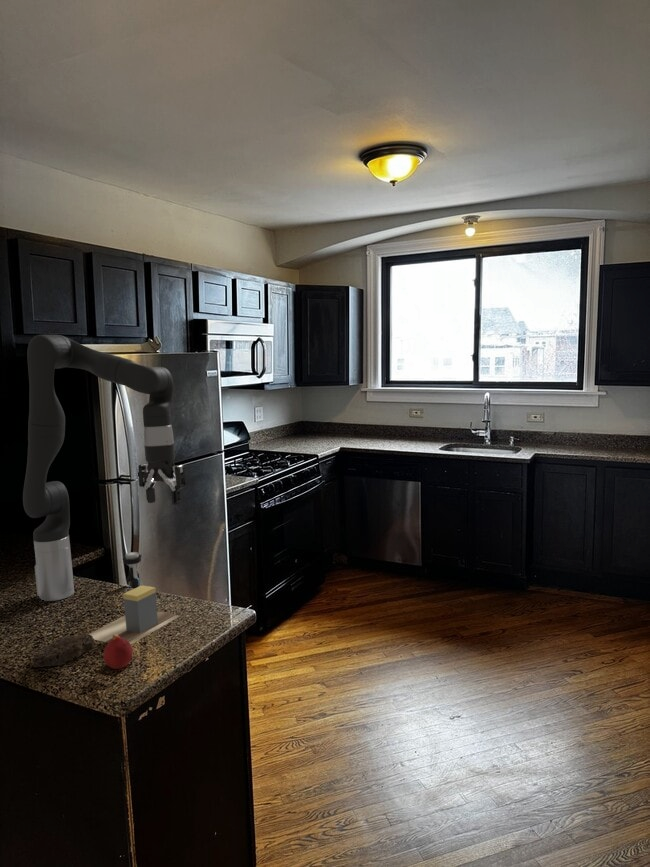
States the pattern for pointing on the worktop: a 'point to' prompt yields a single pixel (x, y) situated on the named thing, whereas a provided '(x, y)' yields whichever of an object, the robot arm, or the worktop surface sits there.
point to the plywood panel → (120, 630)
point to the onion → (118, 653)
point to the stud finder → (140, 609)
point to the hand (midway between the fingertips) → (163, 503)
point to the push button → (133, 568)
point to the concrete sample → (63, 650)
